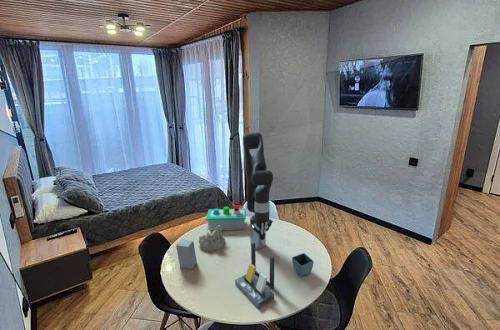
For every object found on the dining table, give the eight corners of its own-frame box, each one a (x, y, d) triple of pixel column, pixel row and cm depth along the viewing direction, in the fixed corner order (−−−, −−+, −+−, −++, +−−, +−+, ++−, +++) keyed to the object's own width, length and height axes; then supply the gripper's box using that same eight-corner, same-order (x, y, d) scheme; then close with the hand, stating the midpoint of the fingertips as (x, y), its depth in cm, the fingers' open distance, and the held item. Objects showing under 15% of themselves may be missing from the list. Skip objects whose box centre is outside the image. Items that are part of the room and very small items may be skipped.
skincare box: (197, 262, 159) (195, 239, 155) (191, 270, 153) (188, 246, 148) (184, 260, 162) (182, 237, 157) (178, 267, 155) (175, 244, 151)
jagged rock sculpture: (227, 238, 184) (224, 218, 179) (219, 253, 169) (216, 232, 164) (206, 236, 188) (203, 217, 183) (196, 251, 173) (193, 231, 168)
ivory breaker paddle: (258, 287, 134) (262, 273, 133) (263, 292, 131) (267, 277, 130) (255, 288, 133) (259, 273, 132) (260, 293, 130) (265, 278, 129)
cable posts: (254, 269, 153) (253, 242, 148) (275, 288, 139) (275, 258, 133) (250, 270, 152) (250, 243, 146) (271, 290, 138) (271, 260, 132)
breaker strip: (250, 276, 147) (250, 268, 146) (274, 299, 132) (274, 290, 130) (235, 284, 142) (235, 276, 140) (258, 308, 126) (258, 300, 125)
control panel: (207, 202, 202) (246, 201, 202) (208, 221, 207) (246, 220, 207) (204, 211, 187) (246, 210, 188) (205, 231, 192) (246, 231, 192)
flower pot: (300, 280, 144) (301, 266, 141) (291, 270, 151) (291, 257, 149) (313, 274, 148) (314, 261, 145) (303, 265, 155) (304, 252, 153)
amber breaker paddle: (247, 277, 141) (251, 263, 140) (252, 282, 138) (256, 267, 137) (245, 278, 140) (249, 264, 139) (249, 282, 137) (253, 268, 136)
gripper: (267, 202, 139) (267, 231, 144) (246, 209, 132) (247, 240, 137) (277, 207, 134) (276, 238, 139) (256, 215, 126) (256, 247, 131)
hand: (262, 239), depth 138 cm, fingers closed
